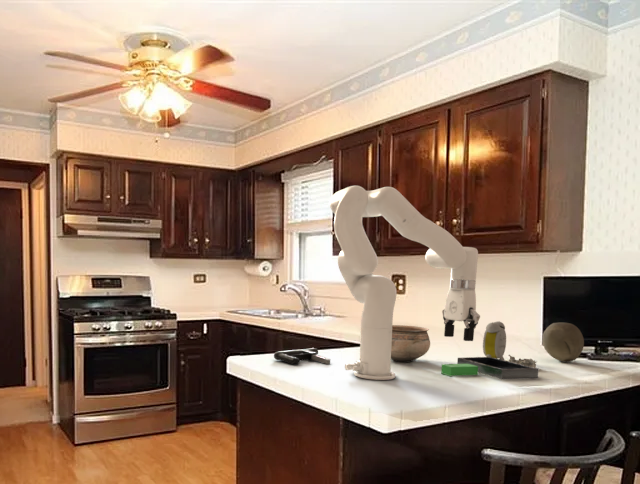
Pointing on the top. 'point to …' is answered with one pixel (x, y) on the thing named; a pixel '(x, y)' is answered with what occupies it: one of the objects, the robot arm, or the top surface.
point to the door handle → (300, 356)
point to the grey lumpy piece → (523, 361)
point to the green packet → (459, 369)
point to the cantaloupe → (563, 341)
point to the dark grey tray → (500, 368)
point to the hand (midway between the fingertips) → (458, 338)
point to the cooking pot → (409, 342)
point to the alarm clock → (494, 340)
